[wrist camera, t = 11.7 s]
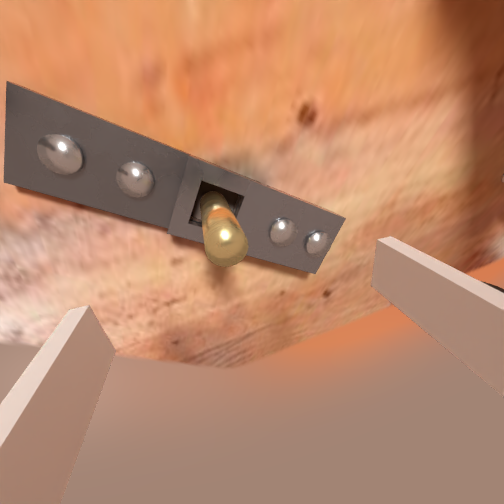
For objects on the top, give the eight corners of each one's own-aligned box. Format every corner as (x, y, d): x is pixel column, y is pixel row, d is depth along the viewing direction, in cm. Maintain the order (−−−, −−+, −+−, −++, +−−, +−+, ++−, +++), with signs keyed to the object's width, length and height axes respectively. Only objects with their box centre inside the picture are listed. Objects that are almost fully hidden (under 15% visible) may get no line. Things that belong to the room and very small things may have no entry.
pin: (197, 193, 26) (200, 231, 15) (223, 188, 26) (245, 222, 16) (203, 219, 27) (209, 270, 16) (228, 214, 27) (251, 261, 17)
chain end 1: (259, 182, 27) (263, 184, 25) (234, 243, 29) (237, 249, 28) (17, 84, 19) (1, 79, 17) (13, 180, 21) (-2, 183, 20)
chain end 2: (169, 225, 26) (166, 235, 24) (189, 153, 24) (188, 156, 21) (306, 264, 33) (317, 276, 30) (333, 212, 31) (348, 220, 28)
